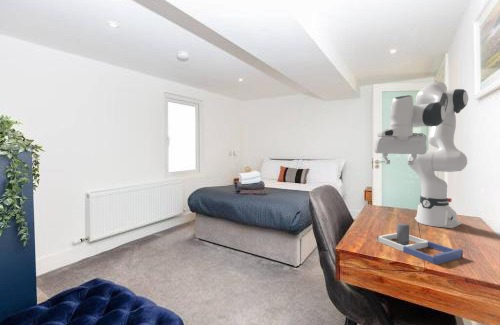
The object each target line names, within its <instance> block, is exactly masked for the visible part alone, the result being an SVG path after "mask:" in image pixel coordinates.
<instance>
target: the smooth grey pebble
mask: <svg viewBox="0 0 500 325" xmlns="http://www.w3.org/2000/svg"><path fill="white" fill-rule="evenodd" d="M396 233H397V238H396V241H395V242H396V243H398V244H401V245H404V246H405V245H409V244H410V240H409V235H410V225H409V224H408V223H403V222H399V223H396Z"/></svg>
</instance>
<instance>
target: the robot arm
mask: <svg viewBox="0 0 500 325" xmlns="http://www.w3.org/2000/svg"><path fill="white" fill-rule="evenodd" d="M468 102H469V95H468V92H467V90H465V89H463V88H456V89H451V90H448V87H447V85H446V84H445V83H444V82H442V81H439V80H438V81H432V82H430V83H428V84H426V85H424V86H423V87H422V88H421V89H420V90H419V91H418V92H417V93H416V96H415V103H416V105H414V98H413V95H408V94H407V95H401V96H396V97H393V98H392V100H391V104H390V110H389V111H390V112H389V118H390V123H389V128H388V129H384V130H381V131H379V132H377V138H376V139H375V142H374V148H373V151H374V153H376V154H382V158H383V159H384V164H385V165H390V164H391V159H389V158H388V157H389V154H393V155H394V154H395V155H408V156H407V164H408V167H410V168H411V169H412V170H413V171H414V172H415V173H416V174H417V175H418V177H419V179H420V184H421V186H420V187H421V190H420V193H421V195H420V197H419V203H420V204H418V205H417V210H416V216H415V217H414V219H415V221H416V222H417V223H418V224H421V225H426V226H430V227H431V226H432V227H438V228H446V229H447V228H448V229H454V228H455V227H458V226H460V225H463V222H462V221H461V220H458V219H457V212H456V211H455V210H454V209H453V208H452V207H451V206H450V203H452V198H449V197H448V184H447V182H446V181H445V180H444V179H443V178H440V177H438V176H437V175H436V173H435V172H443V173H444V172H446V173H452V172H453V173H454V172H461V171H464V169H465V168H466V167H467V165H468V158H467V155H466V154H465V153H464V152H463V151H461V150H460V149H458V148H457V147H456V145H455V143H454V141H455V132H456V128H457V127H456V126H457V117H456V114H459V113H461V111H462V110H464V109H465V107H466V106H467V105H468ZM417 127H419V128H420V127H430V128H429V133H428V135H426V134H425V133H423V132H420V133H417V132H414V131H413V130H414V128H417ZM427 136H428V137H427ZM427 142H428V144H430V146H432V147H434V148H436V150H435V149H434V150H429V149H428V150H427Z"/></svg>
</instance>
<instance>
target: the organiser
mask: <svg viewBox="0 0 500 325" xmlns="http://www.w3.org/2000/svg"><path fill="white" fill-rule="evenodd" d="M393 240H397V232H394V233H389V234H383V235H377V236H376V242H379V243H381V244H383V245H386V246H389V247H391V248H393V249H396V250H398V251H400V252H403V253H406V254H408V255H412V256H413V257H416V258H418V259H420V260H422V261H423V260H424V261H425V262H428V263H431V264H433V265H441V264H445V263H448V262H452V261H455V260H458V259H463V256H464V249H462V248H457V249H455V248H451V247H448V246H445V245H442V244H440V243H435V242H432V241H429V240H426V239H423V238H421V237H418V236H414V235H411V234H409V242H410V241H411V242H413V243H411V244H410V243H409V245H405V246H404V245H401V244H398V243H396V241H393ZM424 248H431V249H434V250H436V251H439V252H441V253H437V254H434V255H430V254H427V253H425V252H423V251H419V250H420V249H424Z"/></svg>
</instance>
